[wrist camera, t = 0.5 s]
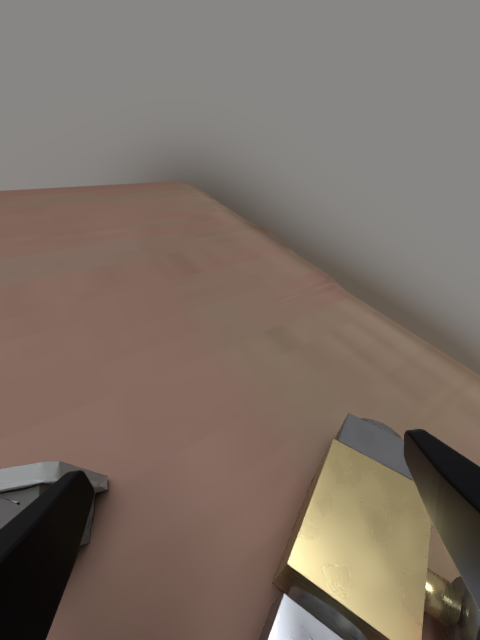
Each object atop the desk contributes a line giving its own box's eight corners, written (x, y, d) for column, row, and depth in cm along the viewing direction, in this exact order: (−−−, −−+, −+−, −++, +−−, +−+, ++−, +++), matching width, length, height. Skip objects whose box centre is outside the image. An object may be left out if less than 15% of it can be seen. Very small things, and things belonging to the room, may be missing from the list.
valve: (406, 836, 12) (501, 933, 8) (237, 674, 15) (242, 683, 11) (434, 489, 22) (482, 452, 18) (330, 434, 24) (350, 392, 20)
